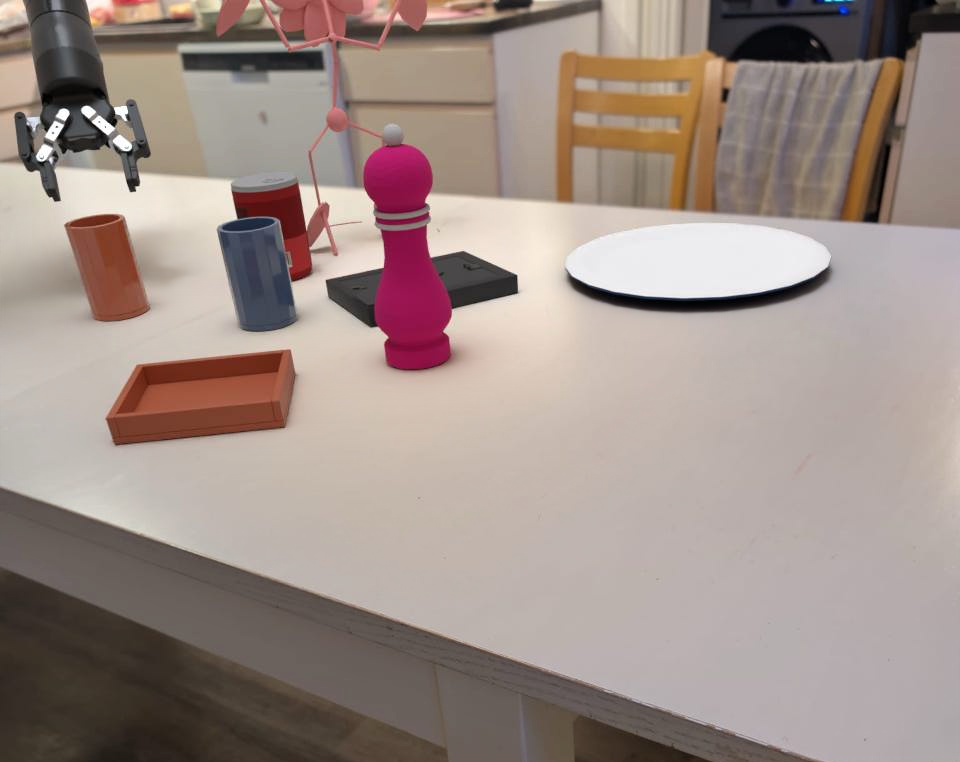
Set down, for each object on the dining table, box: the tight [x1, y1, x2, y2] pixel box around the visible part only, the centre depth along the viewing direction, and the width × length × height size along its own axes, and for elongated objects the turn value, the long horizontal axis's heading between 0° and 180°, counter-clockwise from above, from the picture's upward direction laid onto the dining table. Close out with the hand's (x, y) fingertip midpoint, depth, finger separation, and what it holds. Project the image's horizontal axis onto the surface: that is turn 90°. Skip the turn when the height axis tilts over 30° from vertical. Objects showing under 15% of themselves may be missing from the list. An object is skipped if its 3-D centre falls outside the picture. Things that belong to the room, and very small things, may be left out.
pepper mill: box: [362, 123, 453, 370], centre depth 84 cm, size 7×7×20 cm
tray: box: [105, 349, 296, 445], centre depth 83 cm, size 14×12×2 cm
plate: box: [564, 222, 833, 302], centre depth 105 cm, size 29×29×2 cm
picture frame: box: [325, 250, 519, 328], centre depth 105 cm, size 13×2×18 cm
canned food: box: [230, 171, 313, 282], centre depth 113 cm, size 8×8×11 cm
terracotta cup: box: [63, 213, 150, 322], centre depth 106 cm, size 6×6×10 cm
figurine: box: [215, 0, 440, 256], centre depth 119 cm, size 15×26×35 cm, turn 119°
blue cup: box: [216, 217, 298, 332], centre depth 99 cm, size 6×6×10 cm
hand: (94, 192), depth 108 cm, fingers open, 8 cm apart
